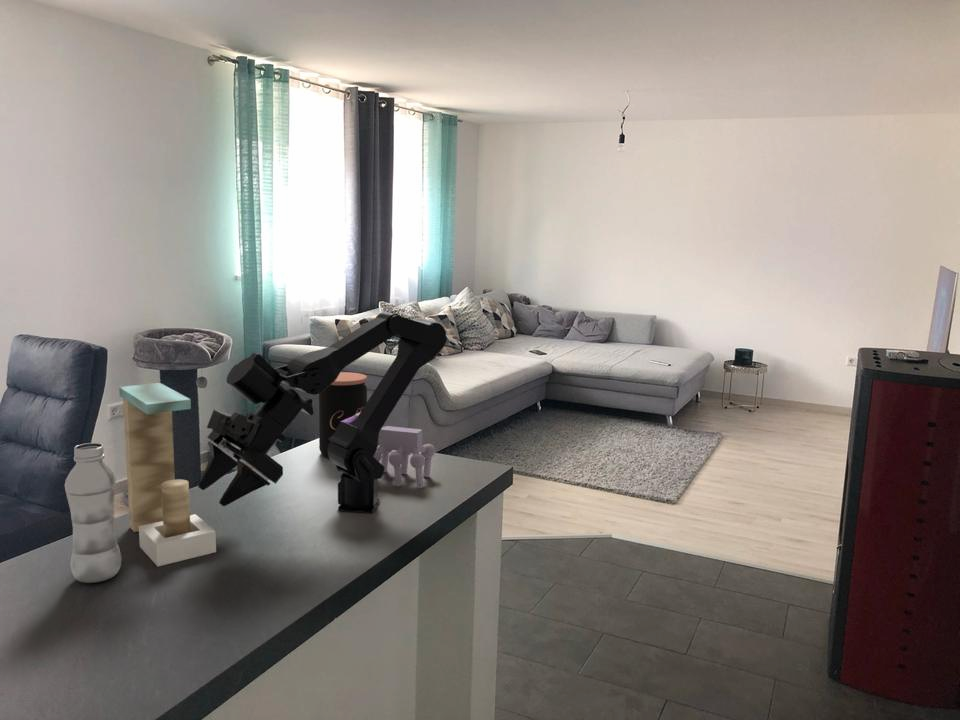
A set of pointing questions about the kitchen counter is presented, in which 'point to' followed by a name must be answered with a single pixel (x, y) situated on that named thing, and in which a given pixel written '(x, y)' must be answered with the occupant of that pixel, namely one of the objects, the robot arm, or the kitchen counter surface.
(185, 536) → the socket
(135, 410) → the tall textured pillar
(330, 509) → the kitchen counter surface
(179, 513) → the peg
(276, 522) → the kitchen counter surface
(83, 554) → the plastic bottle
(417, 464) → the toy sheep
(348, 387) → the coffee jar
